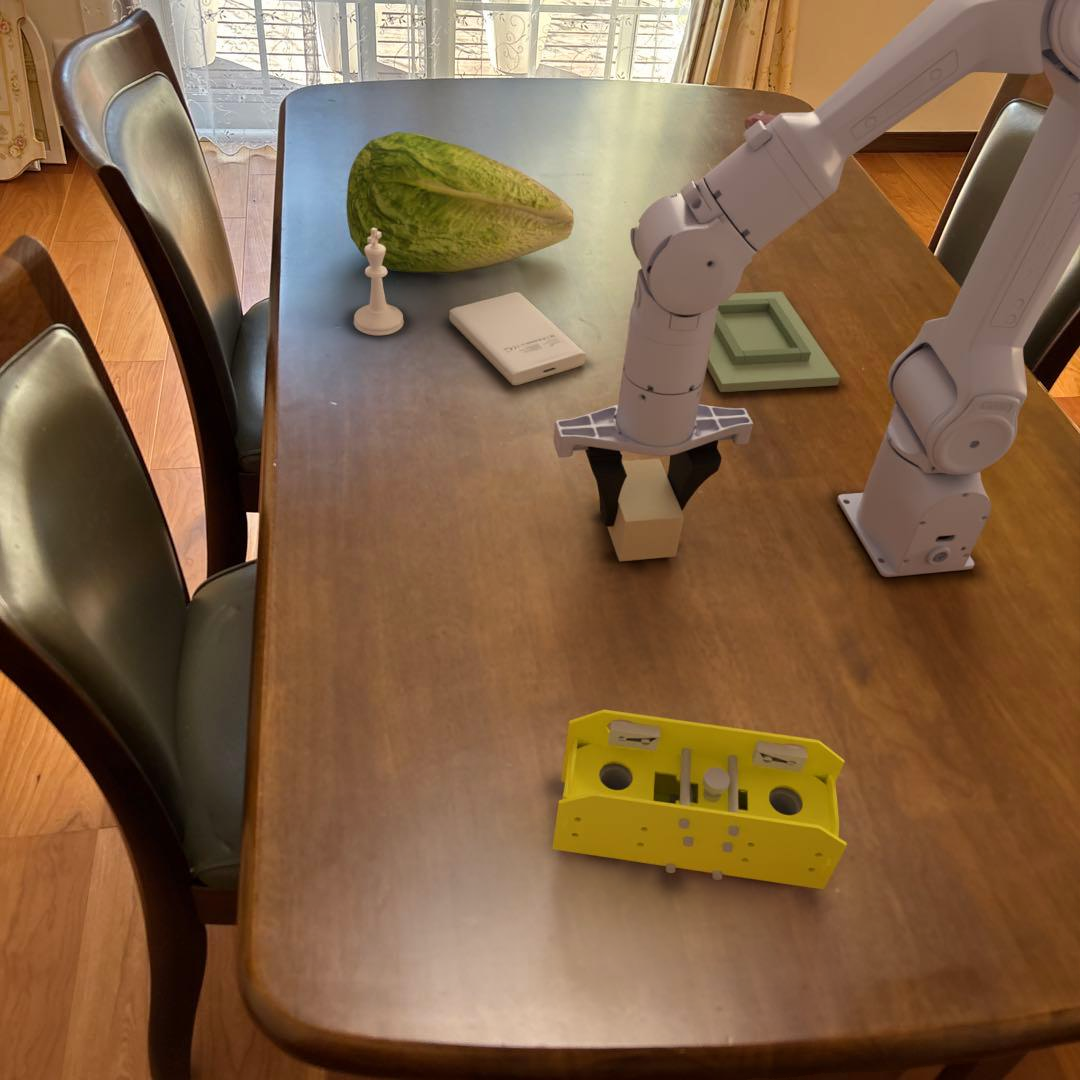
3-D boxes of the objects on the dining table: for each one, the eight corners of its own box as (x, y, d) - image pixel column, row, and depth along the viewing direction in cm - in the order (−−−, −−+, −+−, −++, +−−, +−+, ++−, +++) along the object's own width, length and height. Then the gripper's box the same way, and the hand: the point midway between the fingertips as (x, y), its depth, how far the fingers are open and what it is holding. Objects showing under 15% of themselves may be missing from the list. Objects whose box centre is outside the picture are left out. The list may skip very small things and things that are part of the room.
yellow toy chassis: (814, 816, 64) (850, 737, 58) (820, 901, 60) (860, 825, 54) (561, 779, 65) (572, 698, 59) (550, 860, 61) (561, 782, 55)
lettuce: (576, 306, 108) (602, 173, 102) (343, 280, 103) (353, 138, 96) (551, 263, 121) (572, 143, 114) (342, 239, 115) (351, 110, 108)
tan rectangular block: (676, 556, 80) (684, 516, 77) (619, 561, 79) (625, 521, 76) (652, 497, 84) (659, 458, 82) (598, 502, 84) (603, 462, 81)
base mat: (837, 385, 99) (843, 368, 98) (720, 392, 97) (724, 375, 95) (780, 299, 110) (784, 282, 109) (673, 304, 108) (676, 287, 107)
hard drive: (518, 304, 106) (584, 365, 99) (449, 323, 103) (512, 387, 95) (519, 290, 105) (586, 350, 98) (449, 308, 102) (512, 372, 94)
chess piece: (343, 326, 101) (336, 232, 94) (372, 304, 104) (367, 211, 97) (385, 341, 100) (381, 246, 93) (413, 318, 103) (410, 225, 96)
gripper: (743, 334, 75) (711, 475, 85) (551, 345, 73) (539, 489, 82) (776, 390, 70) (738, 534, 80) (571, 403, 68) (556, 550, 77)
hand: (639, 515), depth 81 cm, fingers closed on tan rectangular block, 4 cm apart
